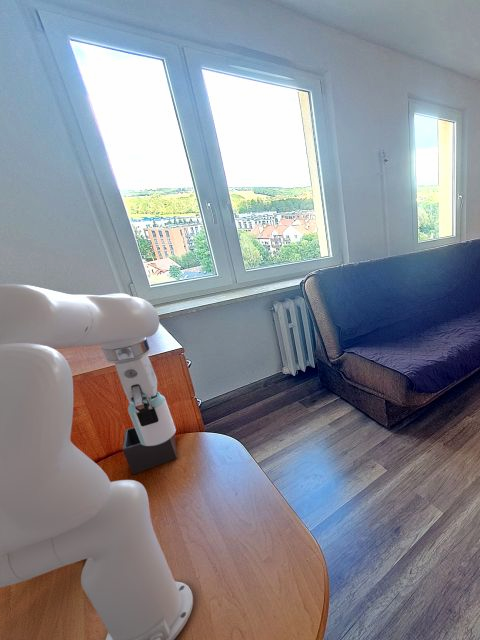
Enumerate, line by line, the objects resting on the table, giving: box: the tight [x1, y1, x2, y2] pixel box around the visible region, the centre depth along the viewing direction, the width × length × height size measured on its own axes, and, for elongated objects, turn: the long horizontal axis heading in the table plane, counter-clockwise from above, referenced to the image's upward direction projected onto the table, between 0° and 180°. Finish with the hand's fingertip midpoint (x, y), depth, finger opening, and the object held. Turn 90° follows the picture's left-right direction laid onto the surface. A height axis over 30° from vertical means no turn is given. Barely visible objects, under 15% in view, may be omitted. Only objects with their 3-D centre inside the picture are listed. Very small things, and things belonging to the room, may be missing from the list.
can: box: [127, 391, 177, 446], centre depth 81 cm, size 7×7×12 cm
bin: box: [122, 426, 178, 475], centre depth 97 cm, size 10×10×9 cm
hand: (150, 414), depth 80 cm, fingers closed on can, 7 cm apart
